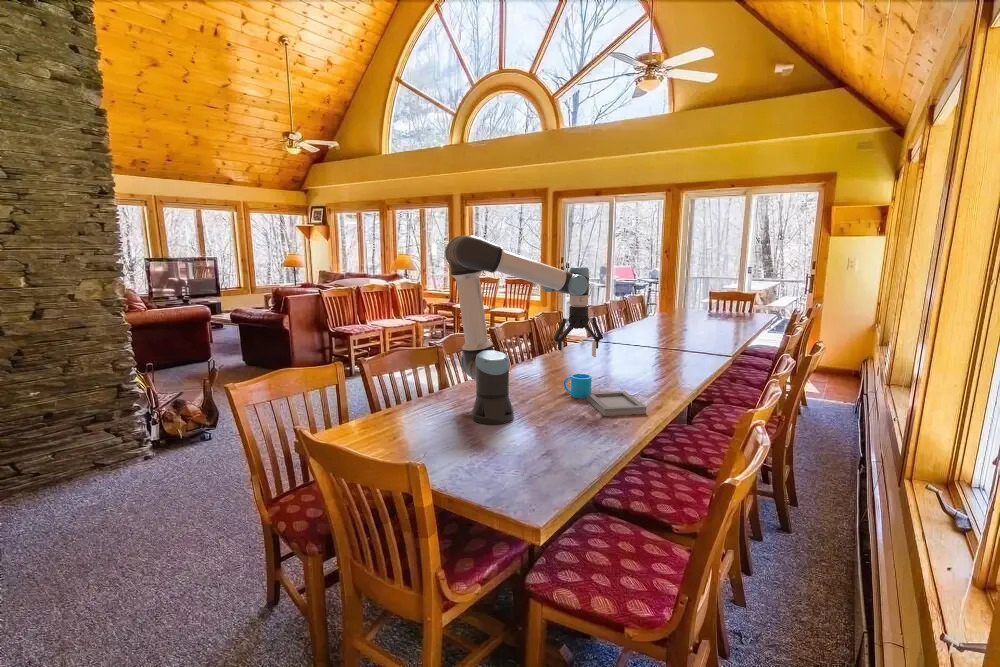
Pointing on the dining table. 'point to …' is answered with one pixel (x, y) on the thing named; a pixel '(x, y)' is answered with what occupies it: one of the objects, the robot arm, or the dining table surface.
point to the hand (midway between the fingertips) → (577, 357)
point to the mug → (579, 385)
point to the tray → (616, 403)
